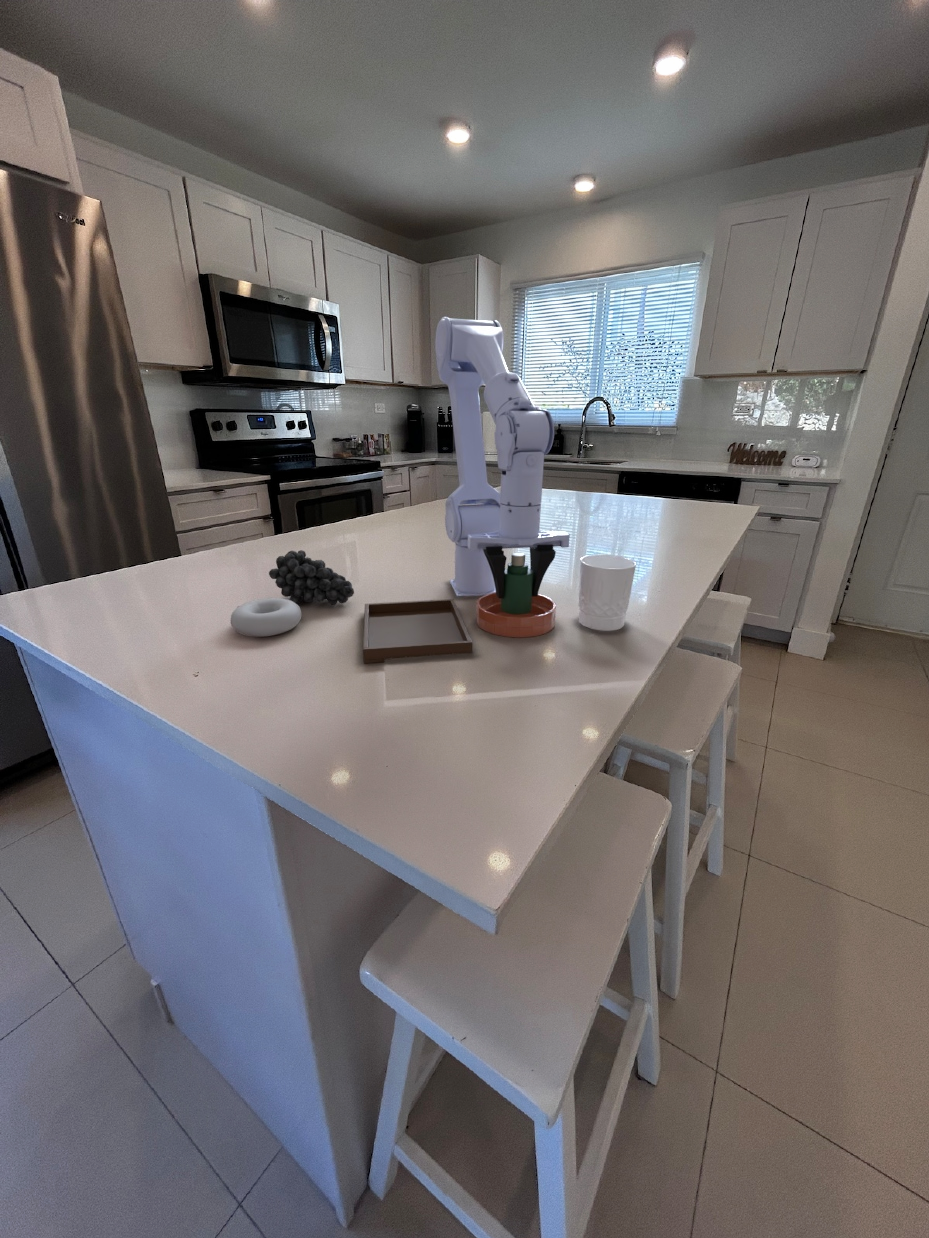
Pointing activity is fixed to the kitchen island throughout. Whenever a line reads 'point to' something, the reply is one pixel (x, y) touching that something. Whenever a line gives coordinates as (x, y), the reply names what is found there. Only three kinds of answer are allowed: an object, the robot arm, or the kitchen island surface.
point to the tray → (413, 630)
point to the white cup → (605, 591)
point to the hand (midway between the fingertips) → (516, 595)
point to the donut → (265, 617)
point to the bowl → (515, 617)
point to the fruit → (309, 579)
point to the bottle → (517, 586)
